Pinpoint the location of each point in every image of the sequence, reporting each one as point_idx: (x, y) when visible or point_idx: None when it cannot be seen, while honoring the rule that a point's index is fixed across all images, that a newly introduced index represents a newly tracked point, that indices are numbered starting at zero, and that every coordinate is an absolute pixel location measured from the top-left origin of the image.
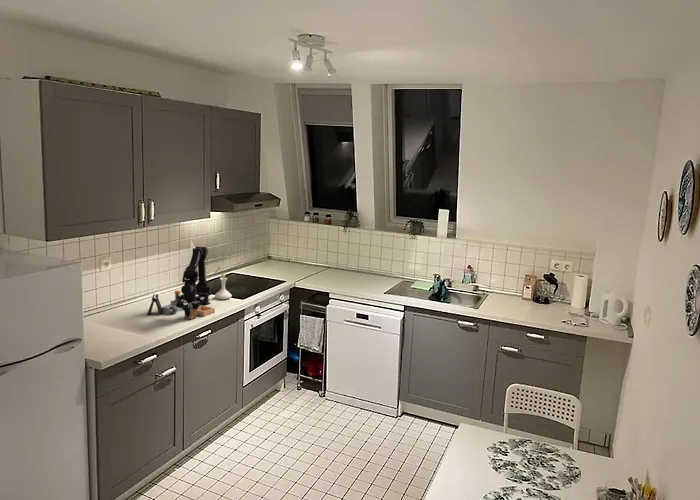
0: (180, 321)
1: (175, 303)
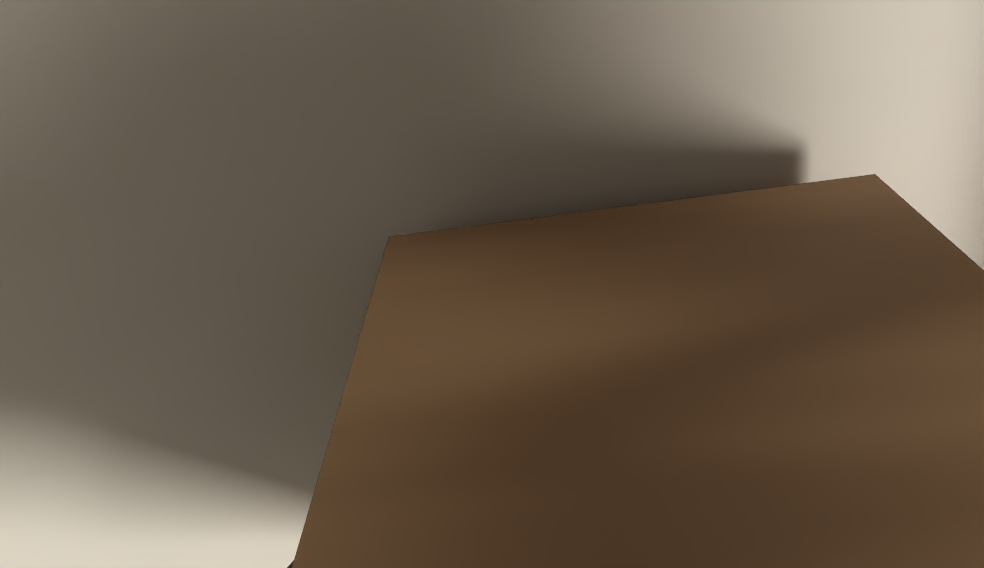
0: (22, 384)
1: None
